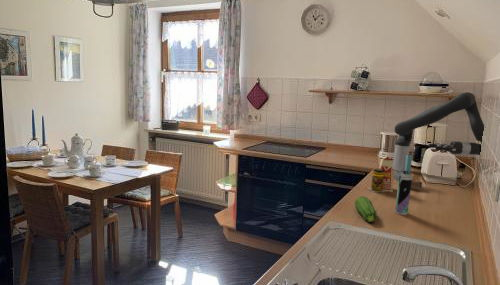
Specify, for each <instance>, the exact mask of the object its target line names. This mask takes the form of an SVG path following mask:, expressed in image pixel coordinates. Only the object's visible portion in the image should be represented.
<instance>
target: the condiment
mask: <svg viewBox="0 0 500 285" xmlns="http://www.w3.org/2000/svg"><path fill="white" fill-rule="evenodd" d="M383 174H384V170H383V169H379V168H374V169H373V172H372V175H371V177H372V178H371V186H370V187H366V189H367V190H369V191H371V192H373V193H386V192H387V191H383V182H384V175H383Z"/></svg>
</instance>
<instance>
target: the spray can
mask: <svg viewBox="0 0 500 285" xmlns="http://www.w3.org/2000/svg"><path fill="white" fill-rule="evenodd" d="M410 175H411V174H410ZM410 175H409V173H408V171H404V173H403V174H401V175H399V181H398V183H397V193H396V200H395V209H394V213H395V214H397V215H402V216H407V215H408V213H409V206H410V198H411V191H412V190H411V182H412V181H413V177H412V176H413V175H412V176H410Z"/></svg>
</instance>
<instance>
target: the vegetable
mask: <svg viewBox="0 0 500 285" xmlns="http://www.w3.org/2000/svg"><path fill="white" fill-rule="evenodd" d="M354 207H355V209H356V210H357V212H358V213H359V215H361V216H362V217H363V219H364V221H367V222H368V223H373V222H374V221H376V220H377V218H378V217H377V211H376V210H375V207H374V205H373V202H372V201H371V200H370V199H369V198H368V197H367V196H364V195H362V196H359V197H357V198H356V199H355V200H354Z"/></svg>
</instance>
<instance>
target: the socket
mask: <svg viewBox="0 0 500 285" xmlns="http://www.w3.org/2000/svg"><path fill="white" fill-rule="evenodd" d="M422 186H423V182H422V181H421V180H419V179H415V181H413V180H412V182H411V191H422Z"/></svg>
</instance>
